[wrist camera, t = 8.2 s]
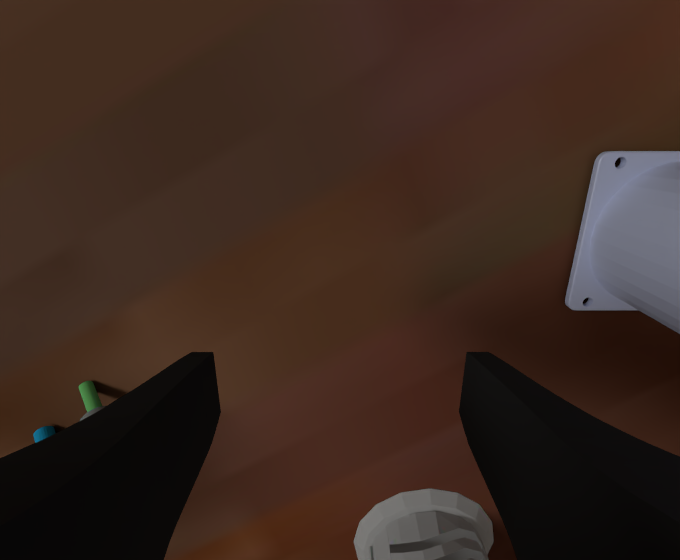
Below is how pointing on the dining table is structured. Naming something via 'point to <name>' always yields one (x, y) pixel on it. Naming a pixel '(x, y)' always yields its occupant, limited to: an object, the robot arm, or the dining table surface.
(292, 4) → the dining table surface
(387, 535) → the french press
